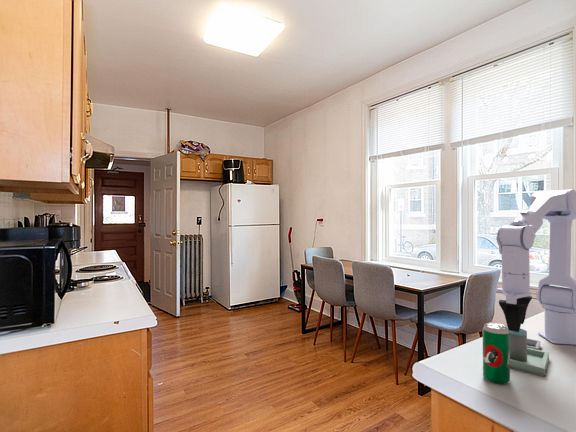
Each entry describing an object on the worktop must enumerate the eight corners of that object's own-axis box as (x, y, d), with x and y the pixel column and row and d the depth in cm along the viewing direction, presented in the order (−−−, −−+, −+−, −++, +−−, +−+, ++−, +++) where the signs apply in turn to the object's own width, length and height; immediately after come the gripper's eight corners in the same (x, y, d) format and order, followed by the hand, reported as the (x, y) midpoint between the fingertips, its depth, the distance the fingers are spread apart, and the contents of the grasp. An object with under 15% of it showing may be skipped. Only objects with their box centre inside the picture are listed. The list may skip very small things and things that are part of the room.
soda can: (514, 386, 69) (513, 330, 69) (488, 384, 70) (487, 328, 70) (503, 375, 74) (503, 322, 74) (479, 373, 75) (478, 321, 75)
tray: (493, 346, 90) (493, 340, 90) (548, 359, 82) (548, 352, 82) (483, 361, 81) (483, 353, 81) (544, 376, 73) (544, 368, 73)
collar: (511, 340, 95) (511, 335, 95) (540, 346, 90) (540, 341, 90) (507, 347, 90) (507, 341, 90) (537, 354, 85) (537, 348, 85)
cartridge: (521, 354, 83) (521, 327, 83) (530, 362, 79) (530, 333, 79) (502, 353, 84) (502, 326, 84) (510, 360, 80) (510, 332, 80)
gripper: (502, 268, 90) (502, 317, 90) (491, 275, 79) (491, 330, 79) (533, 270, 85) (534, 322, 85) (526, 278, 74) (527, 337, 74)
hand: (516, 326), depth 81 cm, fingers open, 7 cm apart
